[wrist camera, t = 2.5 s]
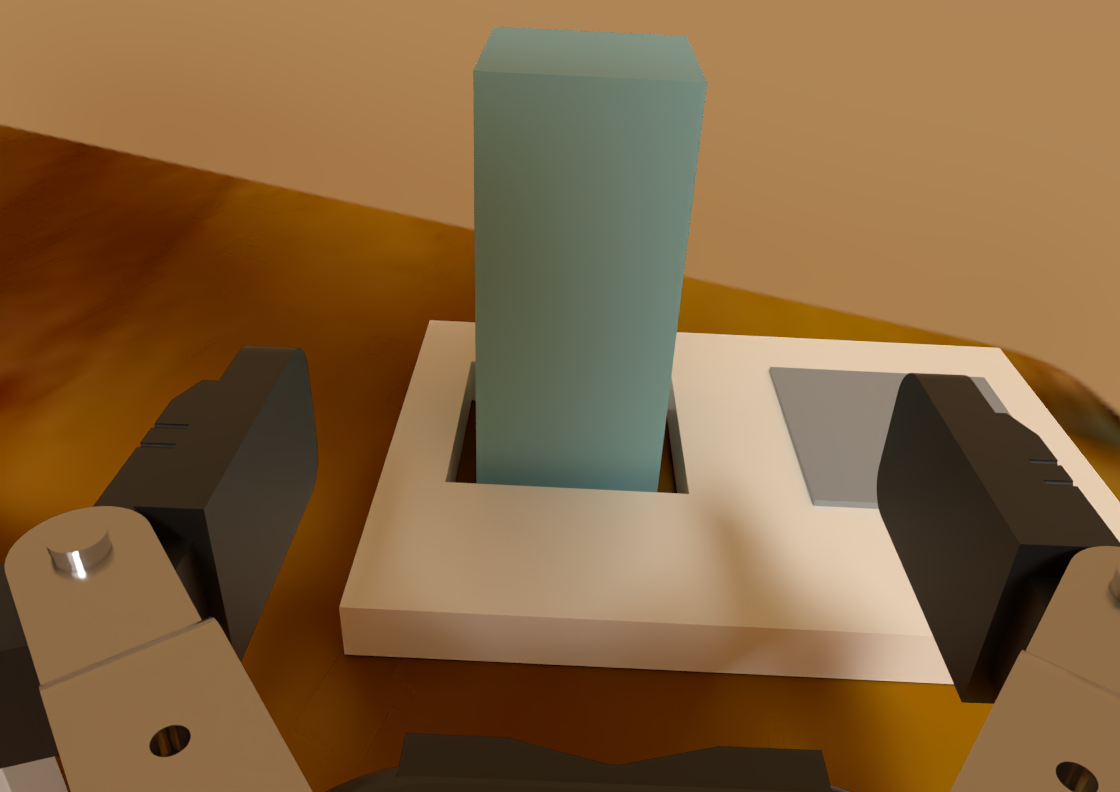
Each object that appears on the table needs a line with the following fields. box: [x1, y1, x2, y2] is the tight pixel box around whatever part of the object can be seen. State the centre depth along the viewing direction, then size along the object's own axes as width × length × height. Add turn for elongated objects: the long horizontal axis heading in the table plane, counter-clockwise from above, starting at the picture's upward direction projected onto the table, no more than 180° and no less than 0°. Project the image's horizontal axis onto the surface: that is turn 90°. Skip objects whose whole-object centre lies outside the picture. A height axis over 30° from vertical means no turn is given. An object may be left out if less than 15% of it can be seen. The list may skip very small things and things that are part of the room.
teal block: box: [473, 27, 707, 492], centre depth 25 cm, size 5×5×12 cm
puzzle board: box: [339, 320, 1120, 684], centre depth 27 cm, size 20×14×2 cm
